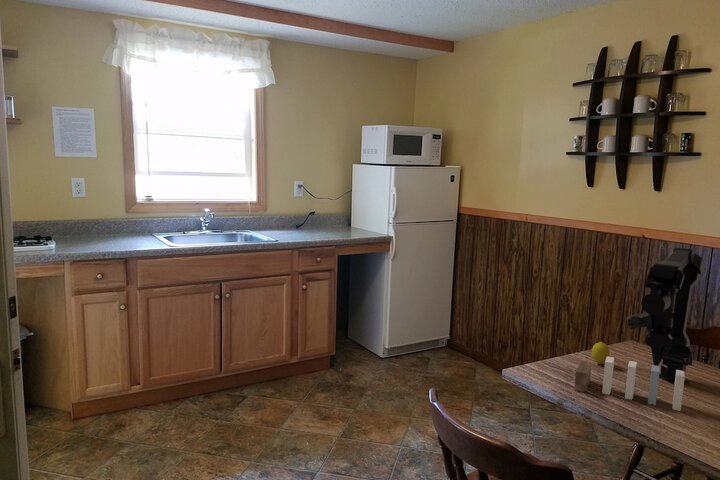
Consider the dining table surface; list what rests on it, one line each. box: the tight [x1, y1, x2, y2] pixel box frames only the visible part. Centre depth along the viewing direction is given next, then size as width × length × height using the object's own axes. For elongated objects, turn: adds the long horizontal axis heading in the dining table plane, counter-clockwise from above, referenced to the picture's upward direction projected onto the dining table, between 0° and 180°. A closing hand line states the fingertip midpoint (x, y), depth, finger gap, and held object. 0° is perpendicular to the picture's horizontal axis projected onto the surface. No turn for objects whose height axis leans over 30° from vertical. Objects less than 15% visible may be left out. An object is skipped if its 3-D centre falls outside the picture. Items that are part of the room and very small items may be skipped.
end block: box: [573, 360, 592, 393], centre depth 159 cm, size 3×10×6 cm, turn 148°
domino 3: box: [671, 370, 686, 412], centre depth 145 cm, size 2×5×10 cm, turn 148°
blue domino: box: [647, 364, 661, 406], centre depth 149 cm, size 2×5×10 cm, turn 149°
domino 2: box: [624, 360, 638, 401], centre depth 152 cm, size 2×5×10 cm, turn 148°
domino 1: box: [601, 356, 615, 396], centre depth 155 cm, size 2×5×10 cm, turn 148°
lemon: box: [591, 341, 610, 365], centre depth 176 cm, size 6×6×8 cm
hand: (656, 360), depth 147 cm, fingers open, 9 cm apart
